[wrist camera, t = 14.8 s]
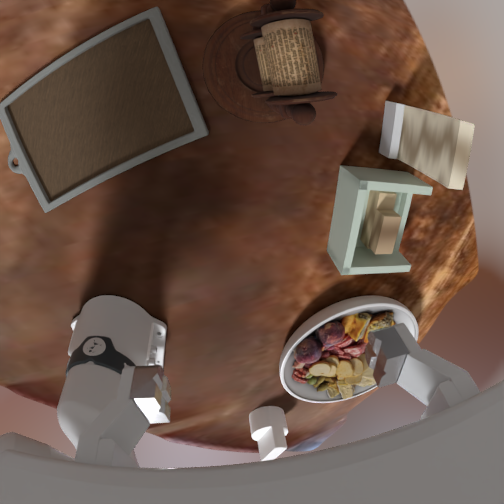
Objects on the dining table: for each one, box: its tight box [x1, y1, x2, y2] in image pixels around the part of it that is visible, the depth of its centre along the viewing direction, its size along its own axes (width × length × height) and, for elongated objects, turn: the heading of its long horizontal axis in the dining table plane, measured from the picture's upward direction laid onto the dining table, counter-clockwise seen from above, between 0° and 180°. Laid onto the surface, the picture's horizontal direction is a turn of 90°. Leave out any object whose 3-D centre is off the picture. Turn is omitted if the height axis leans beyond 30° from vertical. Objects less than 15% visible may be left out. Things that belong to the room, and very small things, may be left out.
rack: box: [327, 165, 433, 275], centre depth 45 cm, size 14×12×7 cm
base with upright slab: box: [249, 406, 288, 461], centre depth 69 cm, size 9×9×12 cm
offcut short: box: [368, 209, 402, 254], centre depth 44 cm, size 6×3×2 cm, turn 177°
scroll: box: [203, 0, 337, 125], centre depth 27 cm, size 15×15×20 cm
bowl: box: [279, 295, 418, 403], centre depth 60 cm, size 30×30×8 cm
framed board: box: [0, 7, 209, 213], centre depth 35 cm, size 19×2×30 cm
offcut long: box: [360, 190, 397, 249], centre depth 45 cm, size 9×3×3 cm, turn 177°
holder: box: [379, 101, 428, 159], centre depth 40 cm, size 8×6×3 cm
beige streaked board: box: [397, 105, 475, 190], centre depth 34 cm, size 8×2×14 cm, turn 178°
